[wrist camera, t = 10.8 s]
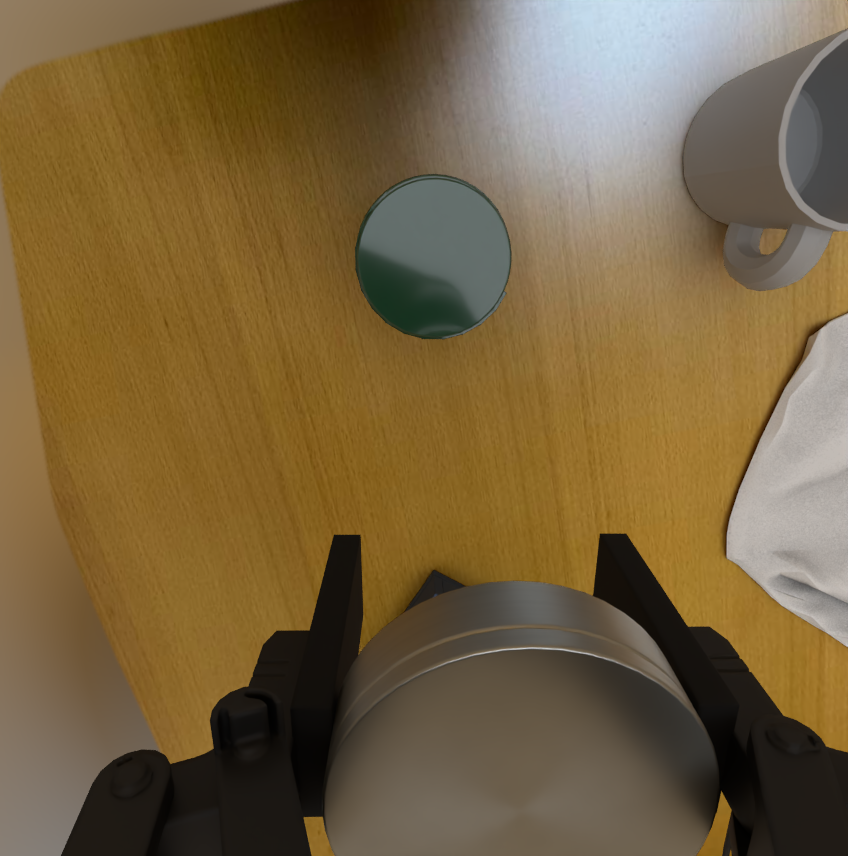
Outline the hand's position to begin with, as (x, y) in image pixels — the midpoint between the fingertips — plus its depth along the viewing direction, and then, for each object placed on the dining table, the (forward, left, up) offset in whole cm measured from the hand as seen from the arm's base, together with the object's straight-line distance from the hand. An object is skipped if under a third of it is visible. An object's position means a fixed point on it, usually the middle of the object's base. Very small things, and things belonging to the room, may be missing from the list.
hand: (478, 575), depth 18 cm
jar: (-5, +7, -18) cm, 20 cm away
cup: (+7, +18, -18) cm, 26 cm away
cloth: (+25, +6, -18) cm, 31 cm away
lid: (0, 0, +7) cm, 7 cm away
